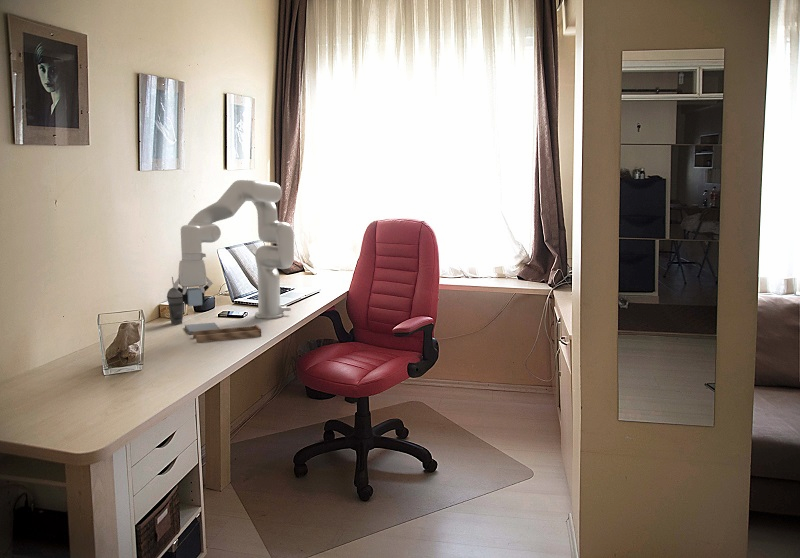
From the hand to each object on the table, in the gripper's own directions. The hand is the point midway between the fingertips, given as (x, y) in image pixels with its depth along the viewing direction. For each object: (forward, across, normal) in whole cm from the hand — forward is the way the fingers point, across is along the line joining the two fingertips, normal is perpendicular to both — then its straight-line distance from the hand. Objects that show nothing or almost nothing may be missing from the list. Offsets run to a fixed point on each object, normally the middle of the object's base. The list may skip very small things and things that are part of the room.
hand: (193, 302), depth 281 cm
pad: (+14, -5, -11) cm, 18 cm away
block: (0, 0, +1) cm, 1 cm away
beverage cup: (+14, +3, -26) cm, 30 cm away
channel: (+14, -12, +4) cm, 19 cm away
